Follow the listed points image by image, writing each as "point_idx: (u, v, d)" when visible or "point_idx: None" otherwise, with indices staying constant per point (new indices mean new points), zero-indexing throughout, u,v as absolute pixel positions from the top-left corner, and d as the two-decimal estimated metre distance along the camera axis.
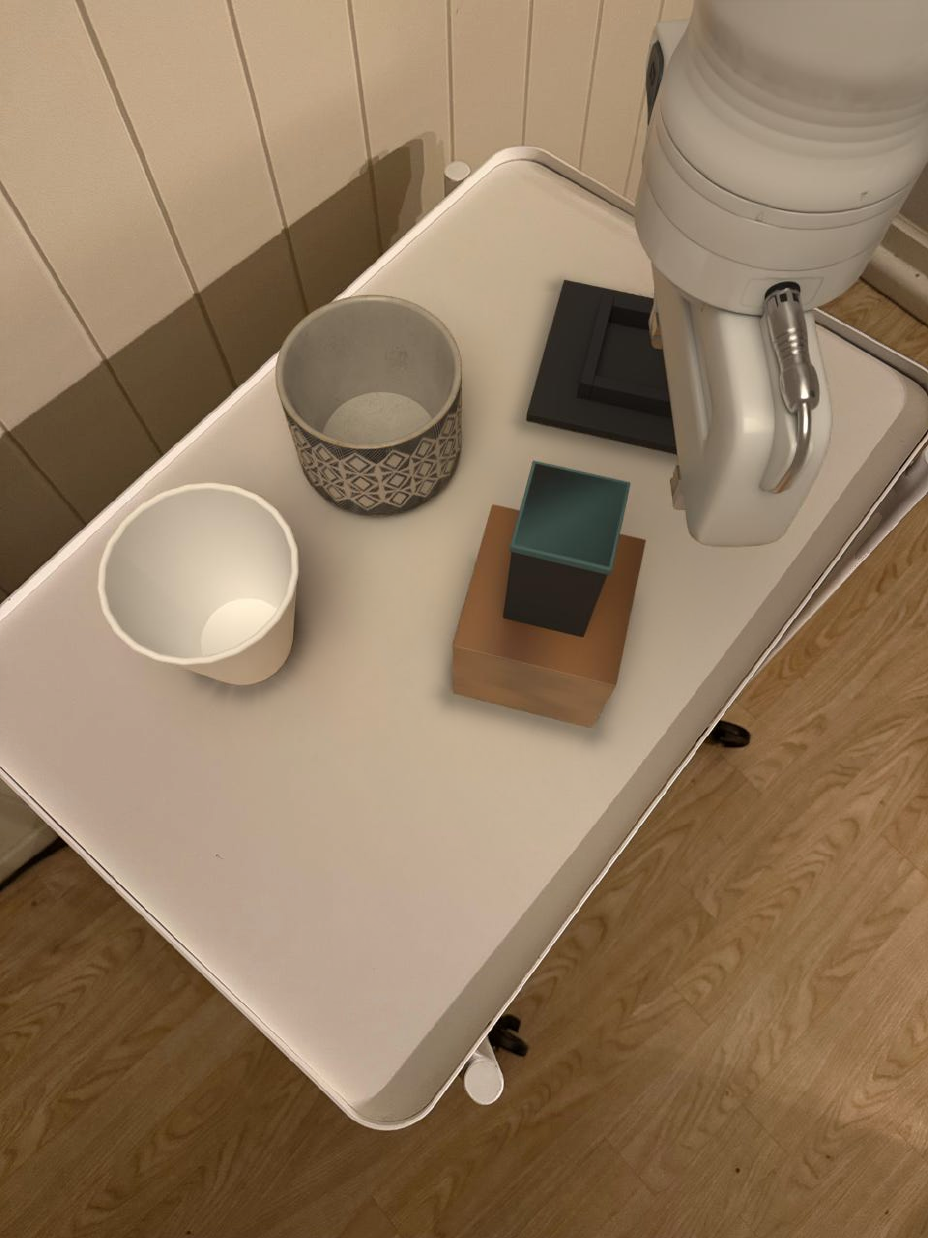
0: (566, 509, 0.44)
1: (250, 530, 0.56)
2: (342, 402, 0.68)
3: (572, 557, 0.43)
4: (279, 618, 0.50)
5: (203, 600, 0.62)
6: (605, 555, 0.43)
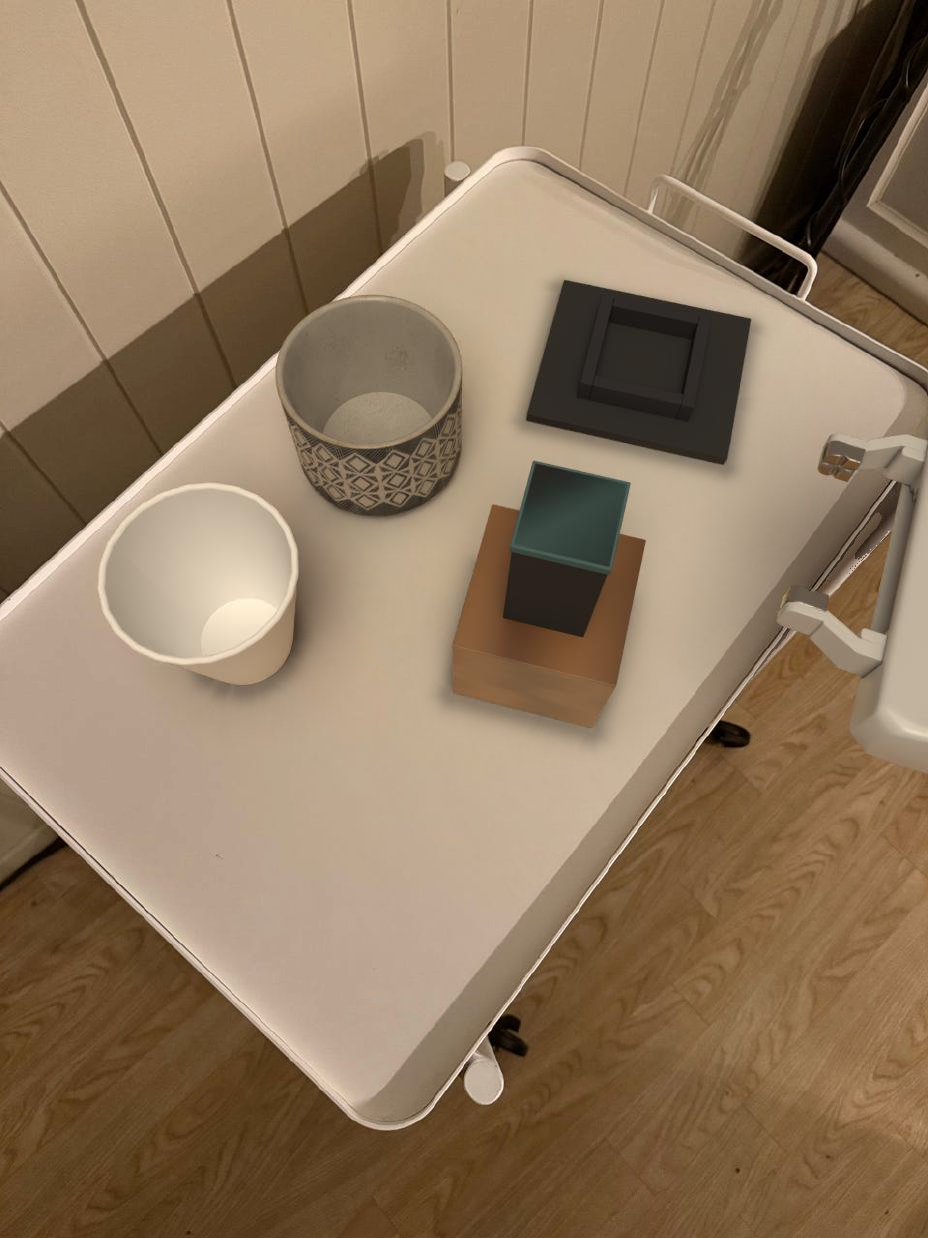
0: (566, 509, 0.44)
1: (250, 530, 0.56)
2: (342, 402, 0.68)
3: (572, 557, 0.43)
4: (279, 618, 0.50)
5: (203, 600, 0.62)
6: (605, 555, 0.43)
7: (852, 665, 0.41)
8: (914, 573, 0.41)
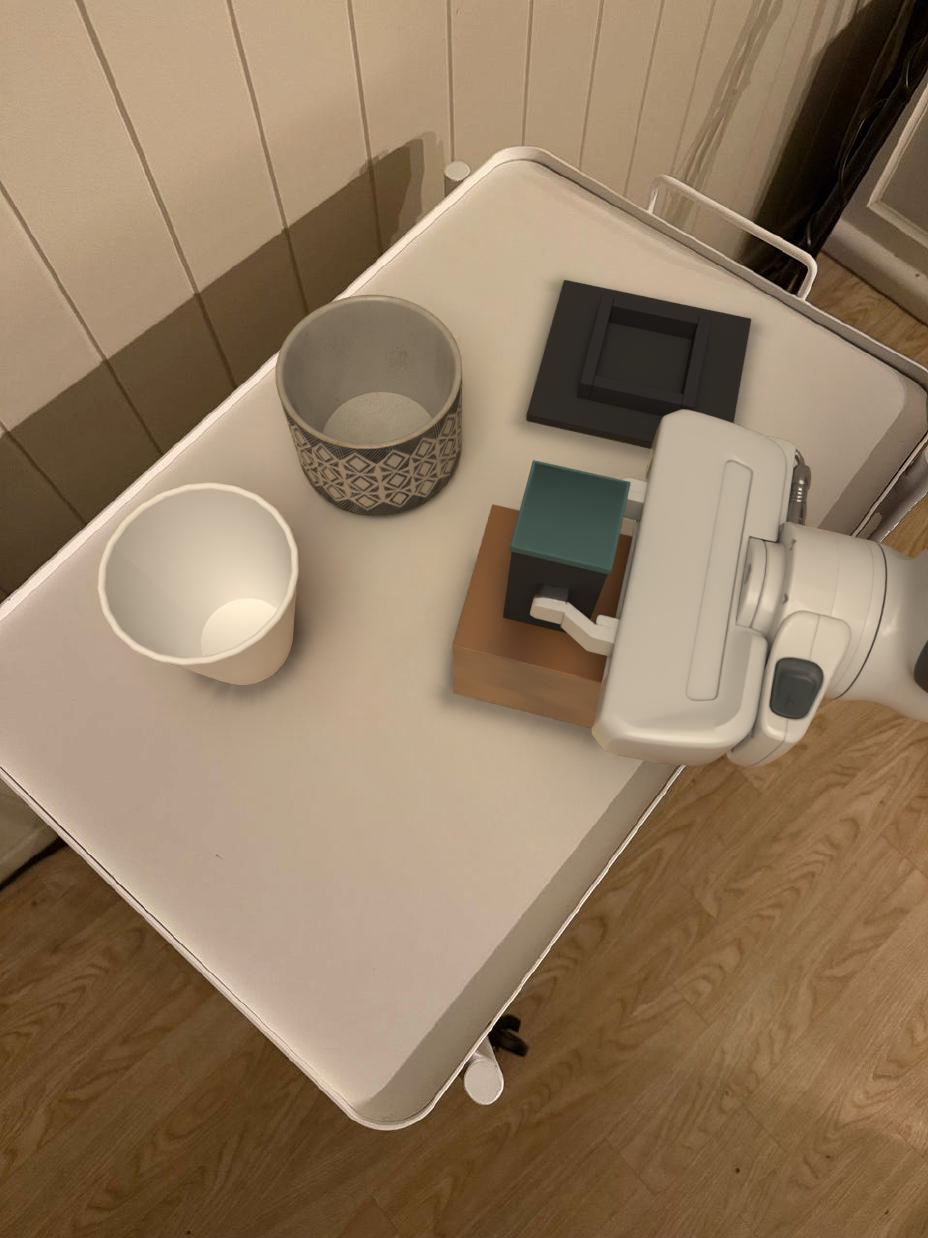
0: (566, 509, 0.44)
1: (250, 530, 0.56)
2: (342, 402, 0.68)
3: (572, 557, 0.43)
4: (279, 618, 0.50)
5: (203, 600, 0.62)
6: (605, 555, 0.43)
7: (596, 648, 0.47)
8: (634, 588, 0.46)
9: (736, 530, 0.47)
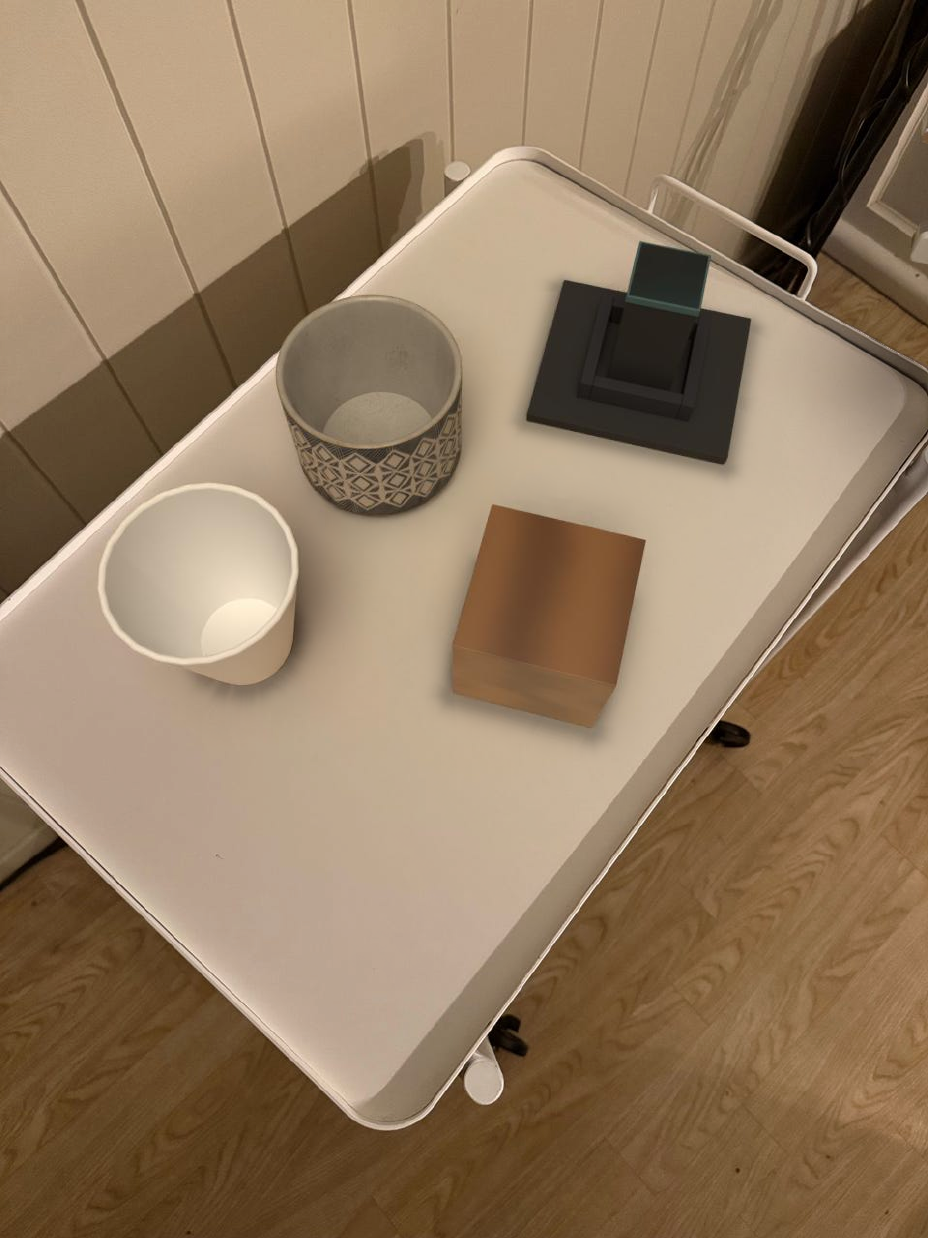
0: (665, 272, 0.61)
1: (250, 530, 0.56)
2: (342, 402, 0.68)
3: (671, 303, 0.60)
4: (279, 618, 0.50)
5: (203, 600, 0.62)
6: (695, 301, 0.60)
7: None
8: None
9: None
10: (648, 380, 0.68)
